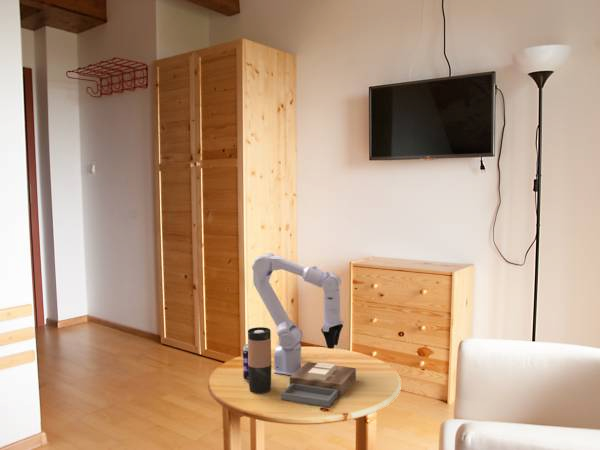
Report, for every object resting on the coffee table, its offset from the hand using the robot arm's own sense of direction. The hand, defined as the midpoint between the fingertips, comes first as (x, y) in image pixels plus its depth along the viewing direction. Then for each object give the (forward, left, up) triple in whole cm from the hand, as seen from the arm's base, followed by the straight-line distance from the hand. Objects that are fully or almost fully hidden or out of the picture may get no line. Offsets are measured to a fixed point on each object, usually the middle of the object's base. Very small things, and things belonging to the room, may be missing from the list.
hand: (332, 346), depth 181 cm
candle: (-23, +10, -11) cm, 27 cm away
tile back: (0, -8, -6) cm, 10 cm away
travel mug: (-18, -21, -11) cm, 30 cm away
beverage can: (-25, -14, -11) cm, 31 cm away
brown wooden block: (0, -9, -10) cm, 14 cm away
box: (0, -22, -10) cm, 24 cm away
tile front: (0, -14, -6) cm, 15 cm away
